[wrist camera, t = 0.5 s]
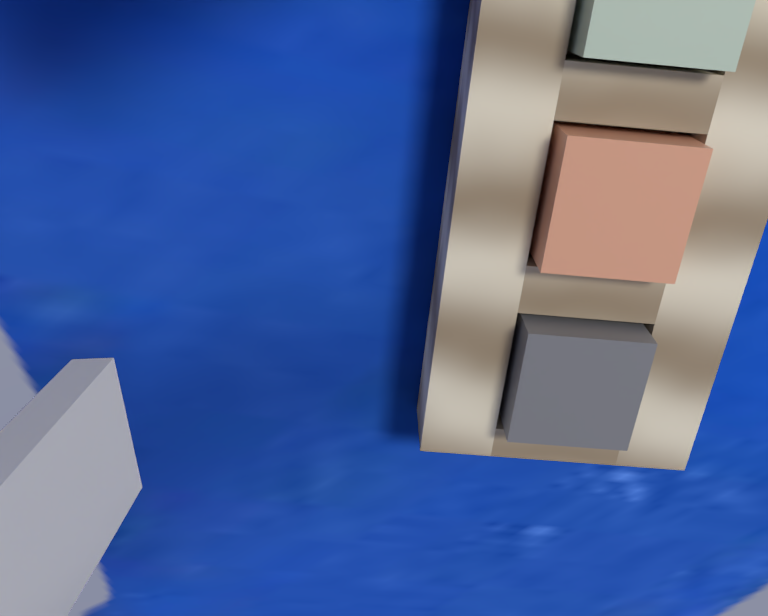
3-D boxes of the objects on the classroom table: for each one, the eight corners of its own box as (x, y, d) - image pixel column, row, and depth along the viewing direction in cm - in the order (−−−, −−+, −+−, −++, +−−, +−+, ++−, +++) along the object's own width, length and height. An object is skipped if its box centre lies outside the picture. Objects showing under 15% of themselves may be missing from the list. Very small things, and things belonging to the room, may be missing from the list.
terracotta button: (551, 121, 32) (567, 135, 29) (685, 133, 32) (713, 148, 29) (528, 248, 34) (540, 272, 32) (652, 259, 35) (674, 284, 32)
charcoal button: (517, 305, 36) (528, 333, 33) (637, 315, 36) (657, 344, 33) (498, 408, 38) (507, 442, 35) (610, 416, 38) (627, 450, 36)
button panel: (492, -175, 29) (509, -197, 25) (828, -138, 30) (895, -154, 26) (417, 408, 41) (420, 454, 37) (658, 426, 42) (686, 474, 38)
